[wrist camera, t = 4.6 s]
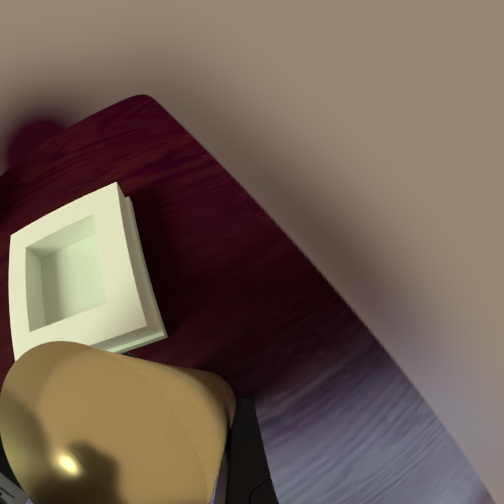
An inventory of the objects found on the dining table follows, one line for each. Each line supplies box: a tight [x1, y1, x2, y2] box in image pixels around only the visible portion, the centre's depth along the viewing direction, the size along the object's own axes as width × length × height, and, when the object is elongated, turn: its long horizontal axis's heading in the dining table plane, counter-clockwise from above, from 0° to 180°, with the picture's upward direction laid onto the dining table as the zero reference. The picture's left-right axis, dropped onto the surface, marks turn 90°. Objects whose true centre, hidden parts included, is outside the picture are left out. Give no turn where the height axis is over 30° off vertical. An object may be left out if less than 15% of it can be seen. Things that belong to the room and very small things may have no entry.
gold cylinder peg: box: [0, 341, 236, 504], centre depth 8 cm, size 4×4×13 cm
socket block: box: [9, 182, 168, 362], centre depth 15 cm, size 11×11×3 cm
